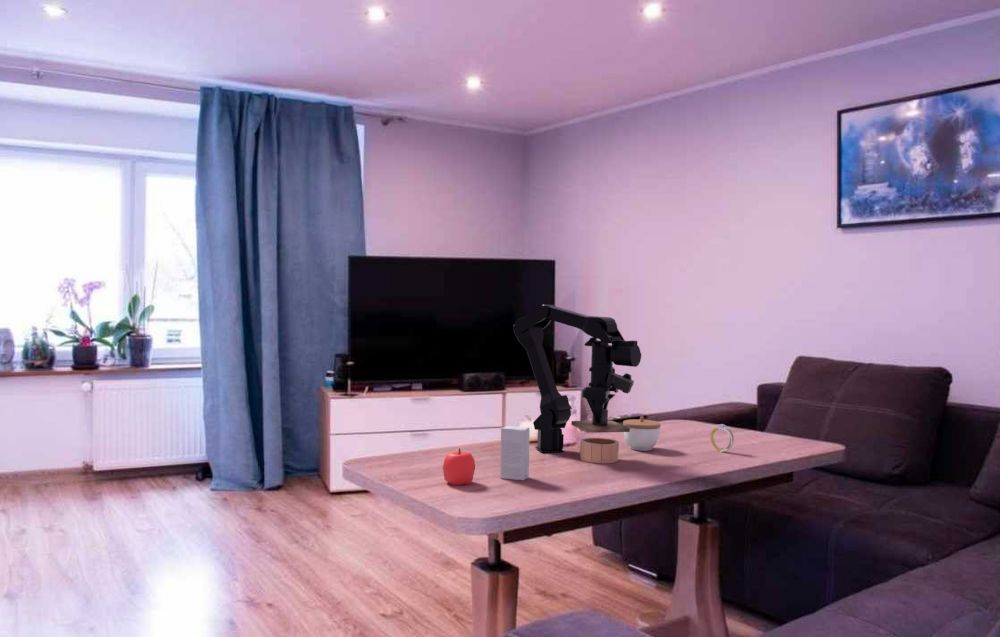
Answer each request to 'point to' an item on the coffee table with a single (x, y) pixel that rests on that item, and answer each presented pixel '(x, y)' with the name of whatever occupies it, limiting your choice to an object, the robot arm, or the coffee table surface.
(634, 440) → the lidded jar
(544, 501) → the coffee table surface
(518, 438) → the skincare box
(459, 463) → the apple
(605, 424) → the walnut lid
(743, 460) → the coffee table surface
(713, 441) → the bracelet
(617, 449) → the tan short open cylinder
